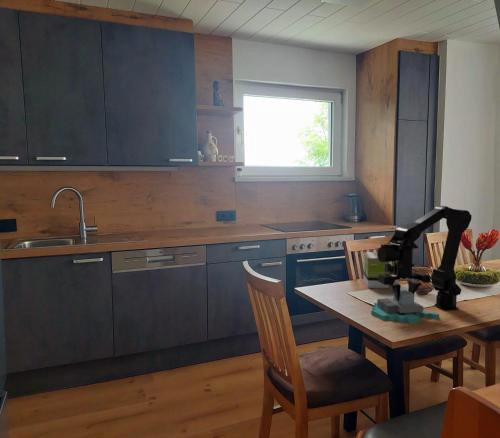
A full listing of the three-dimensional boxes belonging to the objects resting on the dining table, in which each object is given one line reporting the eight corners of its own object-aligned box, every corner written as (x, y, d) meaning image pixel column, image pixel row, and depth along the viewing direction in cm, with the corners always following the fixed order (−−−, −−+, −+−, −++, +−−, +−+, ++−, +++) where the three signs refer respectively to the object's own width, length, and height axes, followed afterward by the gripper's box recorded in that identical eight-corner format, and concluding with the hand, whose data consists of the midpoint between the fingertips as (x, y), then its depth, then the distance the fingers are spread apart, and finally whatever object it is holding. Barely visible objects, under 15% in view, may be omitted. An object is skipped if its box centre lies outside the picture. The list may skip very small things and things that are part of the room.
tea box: (362, 279, 201) (363, 251, 199) (383, 280, 199) (383, 251, 198) (367, 288, 186) (367, 257, 184) (389, 288, 184) (390, 257, 183)
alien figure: (400, 304, 164) (360, 310, 157) (400, 298, 164) (360, 305, 157) (439, 320, 145) (395, 327, 138) (439, 314, 145) (395, 321, 138)
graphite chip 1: (386, 306, 155) (387, 298, 154) (391, 309, 151) (392, 301, 151) (377, 306, 154) (377, 299, 154) (382, 309, 150) (382, 302, 150)
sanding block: (405, 301, 158) (406, 287, 157) (423, 311, 146) (423, 296, 145) (384, 303, 156) (385, 288, 156) (400, 313, 145) (401, 297, 144)
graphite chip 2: (392, 309, 150) (392, 302, 150) (397, 313, 146) (398, 305, 146) (382, 310, 150) (382, 302, 150) (387, 313, 146) (388, 306, 146)
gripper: (415, 255, 158) (414, 293, 160) (371, 257, 156) (371, 295, 157) (432, 261, 147) (430, 301, 149) (385, 263, 145) (384, 304, 146)
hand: (403, 300), depth 151 cm, fingers closed on sanding block, 4 cm apart
